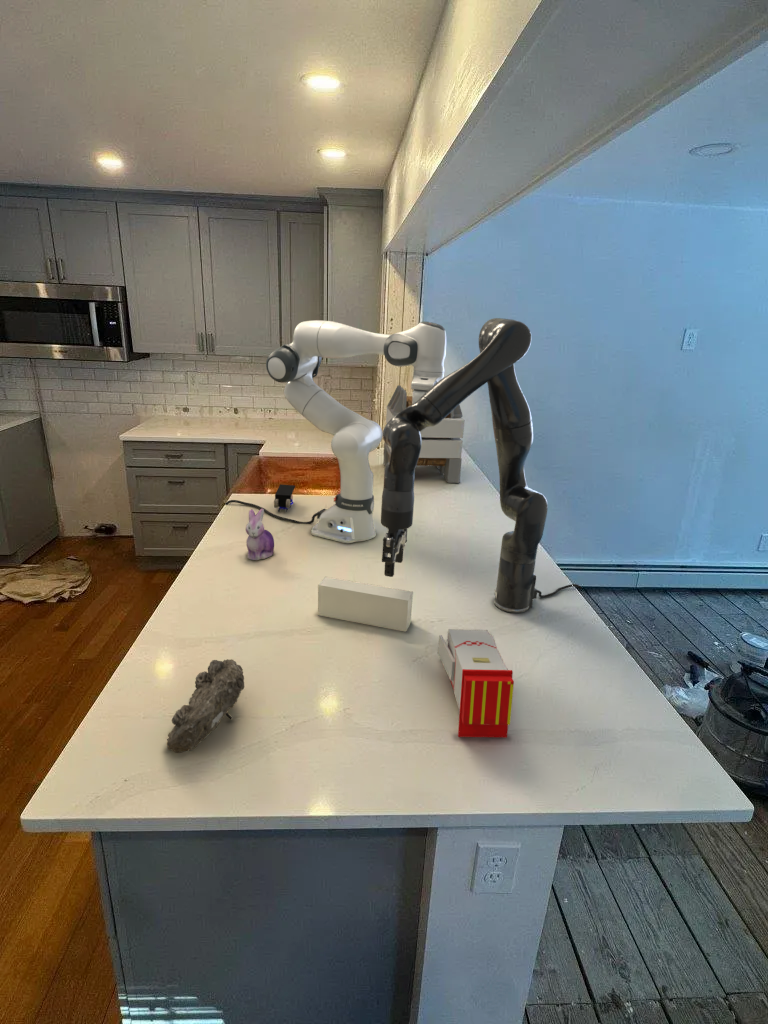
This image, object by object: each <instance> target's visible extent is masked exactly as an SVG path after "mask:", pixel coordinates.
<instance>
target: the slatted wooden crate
mask: <svg viewBox="0 0 768 1024" xmlns="http://www.w3.org/2000/svg"><path fill="white" fill-rule="evenodd" d="M407 394H408V393H407V390H406V389H404V388H403V387H402V385H399V384H398V385H397V386H396V388H395V390H394V392H393V394H392V395H391V398H390V400H389V402H388V404H387V405H386V413H385V414H386V415H385V423H386V424H387V423H388V422H389V421H390V420H391V419H392V418H393V417H394V416H395V415H397V414H398V413H400V412H401V411H403V410H404V409H406V408H407V407H409V406H411V405H412V396H413V395H412V396H411V395H407ZM464 429H465V419H464V418H463V411H462V408H461V404H459V405H458V406H457V407H456V408H455V409H454V410H453V411H452V412H451V413H449V414H448V415H447V416H446V417H445V418H444V419H443V420H442V421H441V422H440V423H438V424H437V425H435V426H432V427H426V428H425V429H424V431H420V434H421V450H420V455H419V458H418V462H417V465H416V467H417V466H418V467H436V468H437V470H438V469H439V473H440V474H441V475H443V478H444V479H445V481H446V482H447V483H449V484H455V483H456V484H459V483H461V472H462V461H463V460H462V453H463V442H464V441H463V440H462V439H463V438H464V431H465V430H464ZM390 457H391V448H390V447H389V446H388V445H387V444H386V443H385V441H384V442H383V466H384V467H385V466H386V464H387V463H388V462H390Z"/></svg>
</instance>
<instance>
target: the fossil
mask: <svg viewBox="0 0 768 1024" xmlns="http://www.w3.org/2000/svg"><path fill="white" fill-rule="evenodd" d="M243 670H244V669H243V667H242V665H240V664H237V662H236V661H235V660H234V659H232V658H231V659H227V658H226V659H224V660H223V661H222V660H217V659H212V660H211V661H210V663H209V665H208V666H207V671H201V672H199V673H198V674H197V675H196V676H195V680H194V684H195V685H194V687H195V689H194V690H193V693H192V694H191V697H190V698H189V700H188V704H184V705H182V706H181V707H180V709H177V710H176V711H175V713H174V715H173V716H172V718H171V723H172V724H173V727H172V730H171V731H170V732H168V734H167V738H166V741H167V742H166V745H167V749H168V750H169V751H173V752H174V753H176V754H178V753H182V752H188V751H189V752H192V751H193V750H195V748H196V747H197V746H199V744H200V743H201V742H203V741H204V740H205V739H206V738H207V737H208V736H209V735H210V734H211V733H212V732H214V730H215V729H217V727H218V726H219V724H220V722H221V721H222V720H223V719H224V718H225V716H226V717H227V719H229V720H233V717H232V715H230V714H229V710H230V709H231V708H234V706H235V704H236V703H237V702H238V699H239V697H240V695H241V693H242V691H243V690H245V689H244V688H245V675H244V671H243Z"/></svg>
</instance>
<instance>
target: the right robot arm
mask: <svg viewBox="0 0 768 1024" xmlns="http://www.w3.org/2000/svg"><path fill="white" fill-rule="evenodd" d="M531 344H532V333H531V330H530V328H529V327H528V325H527V324H525V323H524V322H523V321H520V320H517V319H512V318H501V317H493V318H490V319H488V320H487V321H486V322H484V324H483V325H482V327H481V328H480V331H479V334H478V349H479V354H478V355H476V356H475V357H474V358H473V359H472V360H470V361H469V362H467V363H466V364H464V365H462V366H461V367H459V368H457V369H456V370H454V371H453V372H451V373H449V374H447V375H446V376H444V378H443V379H441V380H440V381H438V382H437V383H436V384H435V385H434V386H432V387H431V388H430V389H429V390H428V391H427V392H426V393H425V394H424V395H423V396H422V397H421V398H420V399H419V400H418V401H417V402H415V403H414V404H412V405H411V406H409V407H407V408H406V409H404V410H403V411H401V412H400V413H398V414H397V415H395V416H394V417H393V418H392V419H391V420H390V421H389V422H388V423H386V424H385V425H384V426H383V427H384V428H383V429H382V432H383V437H382V440H383V441H384V442H385V443H386V444H387V445H388V446H389V447H390V448H391V457H390V462H388V463H387V464H386V466H384V471H383V472H384V473H383V487H382V495H381V508H380V524H381V525H382V527H384V528H386V529H387V532H386V533H385V536H384V537H383V538H382V552H381V553H382V554H381V562H382V563H384V571H383V573H384V576H385V577H389V578H393V577H394V575H395V566H396V563H397V564H401V563H403V562H404V549H405V547H406V544H407V542H408V529H410V528H411V527H412V526H413V521H414V505H415V477H416V476H415V475H416V468H417V466H416V465H417V462H418V458H419V455H420V450H421V434H420V431H422V430H423V429H424V428H426V427H432V426H435V425H437V424H438V423H440V422H441V421H442V420H443V419H444V418H445V417H446V416H447V415H448V414H449V413H451V412H452V411H453V410H454V409H455V408H456V407H457V406H458V405H461V404H462V403H463V402H464V401H465V400H466V399H467V398H468V397H470V396H472V394H473V393H474V392H476V391H477V390H479V389H480V388H481V387H483V386H484V385H485V384H487V389H488V397H489V405H490V410H491V421H492V430H493V437H494V442H495V449H496V456H497V465H498V476H499V504H500V509H501V512H502V513H503V514H504V515H505V516H506V517H507V518H509V519H511V520H512V521H514V522H515V523H514V529H513V530H512V531H507V532H505V533H504V534H503V536H502V539H501V544H500V545H501V546H500V552H499V553H500V554H499V562H498V570H497V578H496V585H495V586H496V587H495V589H494V592H493V594H494V599H493V604H494V605H495V607H497V608H498V609H500V610H501V611H504V612H507V613H511V614H519V613H520V614H521V613H525V612H527V611H528V610H529V609H531V608H533V603H534V600H535V599H536V600H537V597H539V598H540V599H544V598H545V599H546V598H549V597H552V596H554V595H556V594H558V593H559V592H560V591H562V590H565V589H568V588H573V587H574V588H577V589H579V590H582V589H583V587H582V586H581V585H579V584H577V583H571V584H567V585H563V586H561V587H558V588H557V589H556V590H555V591H553V592H550V593H548V594H544V595H543V594H542V591H540V589H539V590H538V589H537V588H536V584H537V583H536V582H537V575H536V574H535V568H536V560H537V553H538V547H539V544H540V542H541V541H542V538H543V535H544V531H545V525H546V521H547V517H548V508H549V507H548V506H549V505H548V500H547V498H546V496H545V495H544V494H543V493H542V492H539V491H537V490H534V489H533V488H530V487H529V486H528V484H527V479H526V472H525V464H526V460H527V458H528V455H529V453H530V451H531V448H532V446H533V442H534V427H533V417H532V413H531V409H530V405H529V403H528V401H527V399H526V396H525V395H524V393H523V391H522V388H521V386H520V383H519V381H518V378H517V375H516V374H517V373H516V370H515V364H516V363H517V362H519V361H520V360H521V359H522V358H524V357H525V355H526V354H527V353H528V351H529V349H530V347H531ZM389 555H390V556H389ZM572 585H573V586H572Z"/></svg>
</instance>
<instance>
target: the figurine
mask: <svg viewBox="0 0 768 1024" xmlns="http://www.w3.org/2000/svg"><path fill="white" fill-rule="evenodd" d="M263 508H264V507H262V509H259V511H258V512H257V513H255V510H254V509H252V508H250V510H248V522H247V524H246V526H245V533H246V534H247V538H246V542H245V543H246V548H247V550H248V551H247V559H248V560H252V561H259V560H265V559H267V558H270V557H272V556H273V555H274V552H275V551H274V550H275V540H274V536H273V534H272V533H271V532H270V531H269V530H268V529H265V526H264V523H263V519H264V516H265V515H264V514H265V512H264V509H265V508H264V509H263Z"/></svg>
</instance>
